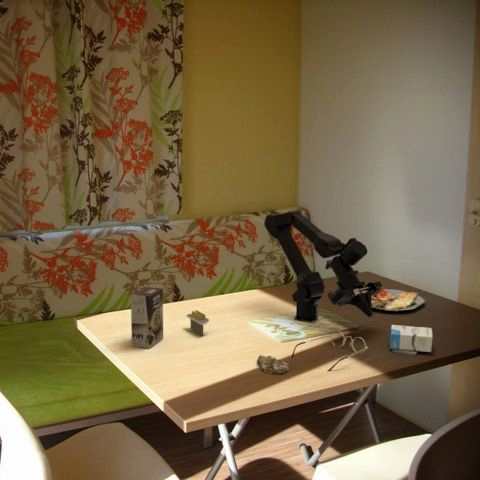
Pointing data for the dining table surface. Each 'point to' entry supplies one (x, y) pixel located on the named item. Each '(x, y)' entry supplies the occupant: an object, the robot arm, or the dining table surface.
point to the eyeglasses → (340, 346)
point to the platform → (197, 321)
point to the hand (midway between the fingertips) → (370, 316)
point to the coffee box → (147, 317)
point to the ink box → (411, 338)
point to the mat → (405, 351)
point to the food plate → (395, 300)
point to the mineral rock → (272, 364)
